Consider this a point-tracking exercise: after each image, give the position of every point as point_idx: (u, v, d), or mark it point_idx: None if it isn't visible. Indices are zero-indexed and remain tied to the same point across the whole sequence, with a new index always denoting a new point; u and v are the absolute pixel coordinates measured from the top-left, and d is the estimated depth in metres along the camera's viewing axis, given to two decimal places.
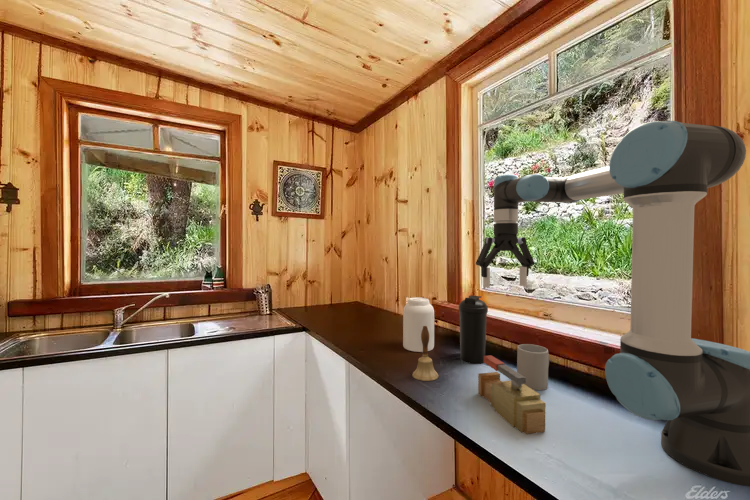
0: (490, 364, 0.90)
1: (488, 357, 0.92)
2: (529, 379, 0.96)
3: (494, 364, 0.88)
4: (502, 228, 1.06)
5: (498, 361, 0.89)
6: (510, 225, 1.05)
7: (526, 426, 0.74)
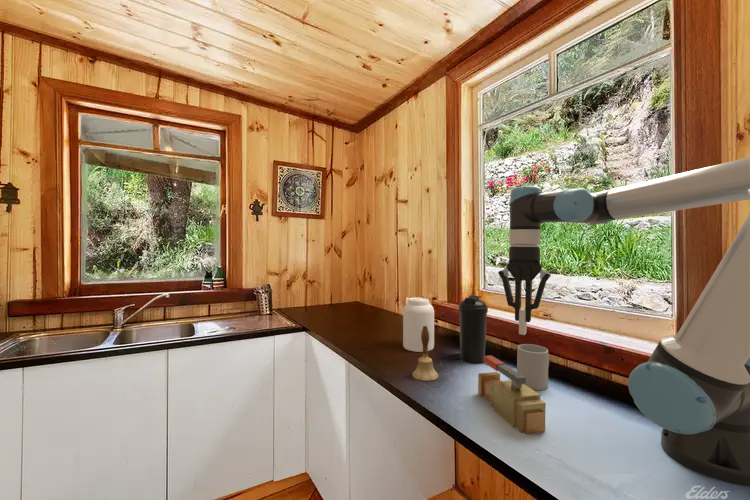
0: (490, 364, 0.90)
1: (488, 357, 0.92)
2: (529, 379, 0.96)
3: (494, 364, 0.88)
4: (511, 252, 0.87)
5: (498, 361, 0.89)
6: (519, 250, 0.85)
7: (526, 426, 0.74)
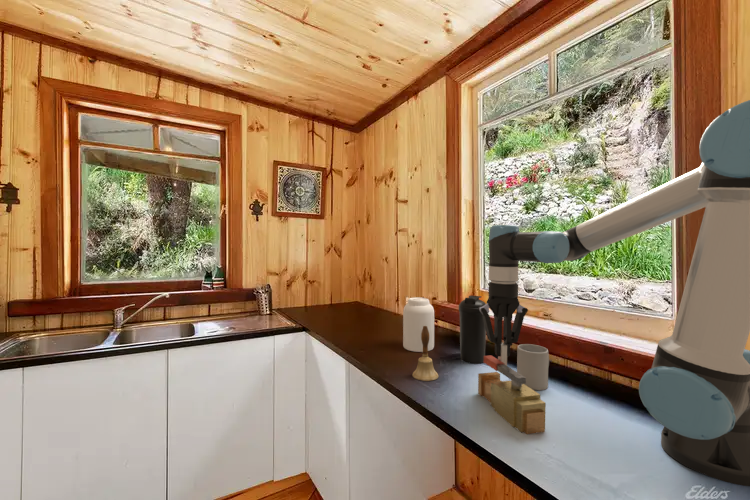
0: (490, 364, 0.90)
1: (488, 357, 0.92)
2: (529, 379, 0.96)
3: (494, 364, 0.88)
4: (496, 290, 0.87)
5: (498, 361, 0.89)
6: (506, 287, 0.86)
7: (526, 426, 0.74)
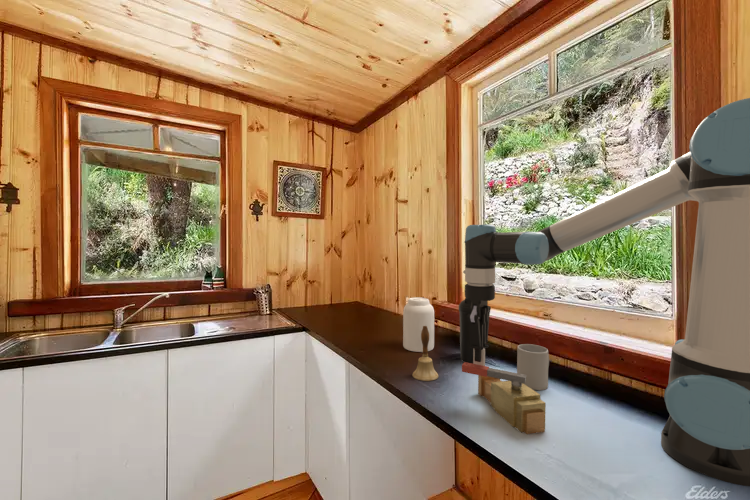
0: (475, 372, 0.84)
1: (468, 365, 0.86)
2: (529, 379, 0.96)
3: (483, 370, 0.83)
4: (486, 293, 0.82)
5: (481, 366, 0.85)
6: (493, 289, 0.83)
7: (526, 426, 0.74)
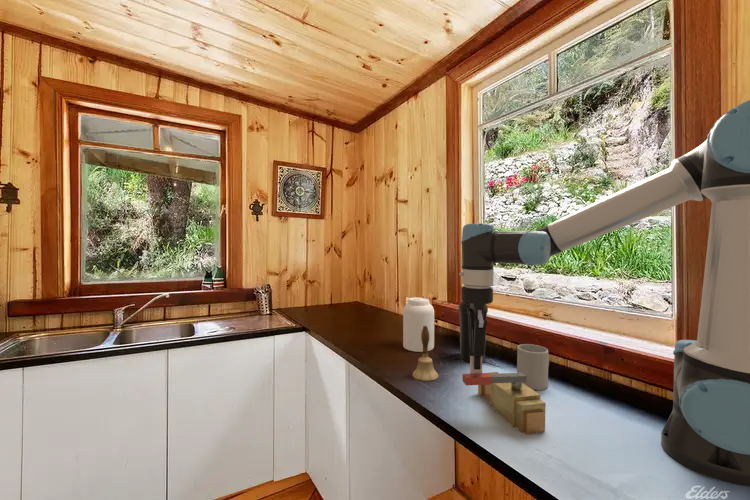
0: (480, 382, 0.78)
1: (471, 376, 0.79)
2: (529, 379, 0.96)
3: (488, 378, 0.79)
4: (490, 295, 0.78)
5: (482, 374, 0.80)
6: None
7: (526, 426, 0.74)
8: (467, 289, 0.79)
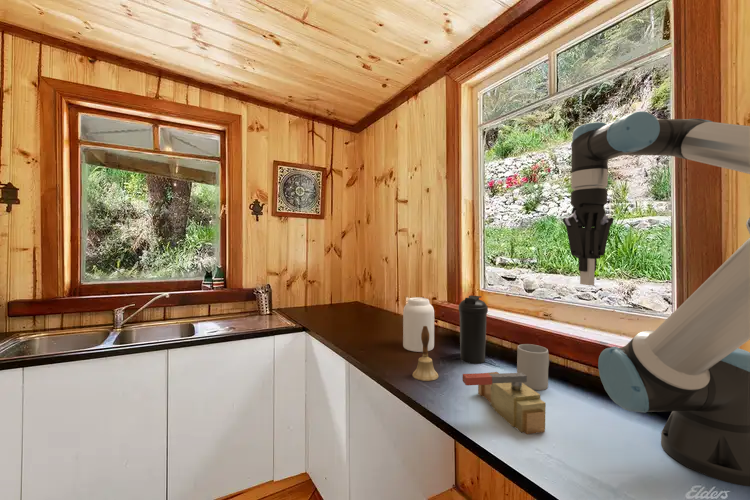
0: (480, 382, 0.78)
1: (471, 376, 0.79)
2: (529, 379, 0.96)
3: (488, 378, 0.79)
4: (588, 195, 0.78)
5: (482, 374, 0.80)
6: (599, 191, 0.77)
7: (526, 426, 0.74)
8: None
